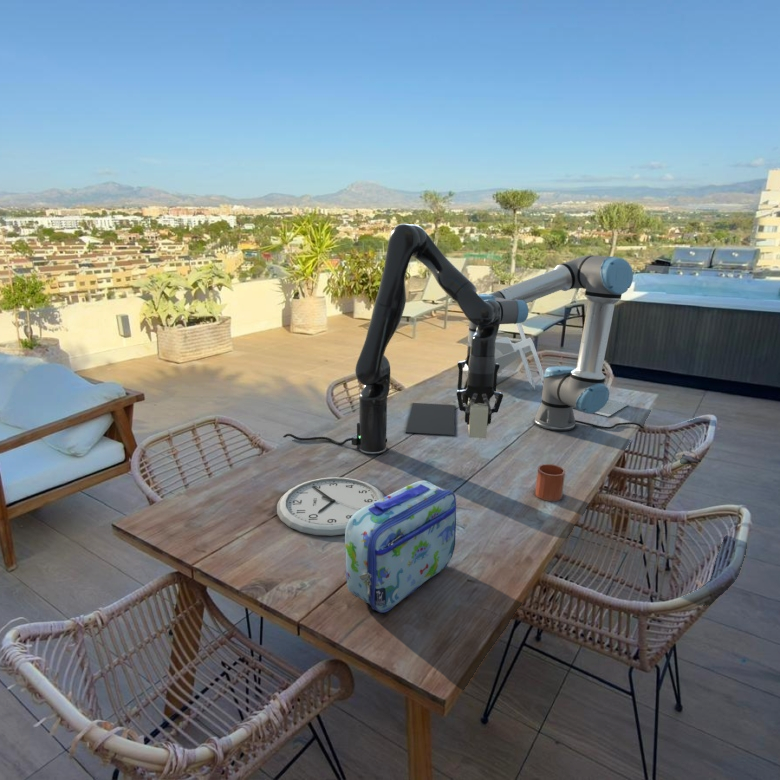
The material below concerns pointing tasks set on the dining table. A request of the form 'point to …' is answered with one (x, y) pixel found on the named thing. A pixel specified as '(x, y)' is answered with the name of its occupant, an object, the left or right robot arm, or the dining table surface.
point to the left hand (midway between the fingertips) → (477, 424)
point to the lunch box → (399, 543)
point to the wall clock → (325, 504)
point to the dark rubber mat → (432, 419)
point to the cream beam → (478, 420)
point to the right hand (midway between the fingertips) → (475, 412)
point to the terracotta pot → (550, 482)
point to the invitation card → (610, 408)
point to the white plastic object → (515, 354)
